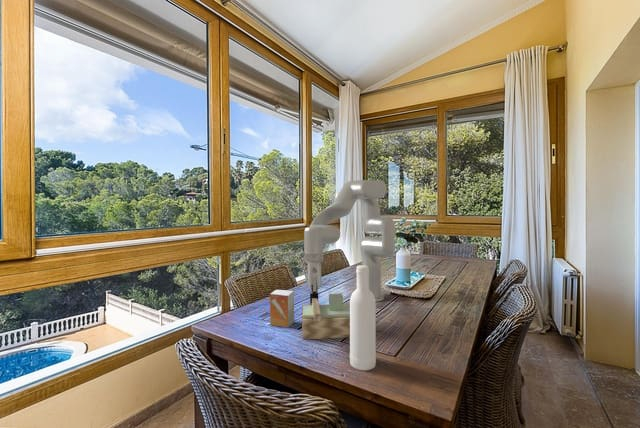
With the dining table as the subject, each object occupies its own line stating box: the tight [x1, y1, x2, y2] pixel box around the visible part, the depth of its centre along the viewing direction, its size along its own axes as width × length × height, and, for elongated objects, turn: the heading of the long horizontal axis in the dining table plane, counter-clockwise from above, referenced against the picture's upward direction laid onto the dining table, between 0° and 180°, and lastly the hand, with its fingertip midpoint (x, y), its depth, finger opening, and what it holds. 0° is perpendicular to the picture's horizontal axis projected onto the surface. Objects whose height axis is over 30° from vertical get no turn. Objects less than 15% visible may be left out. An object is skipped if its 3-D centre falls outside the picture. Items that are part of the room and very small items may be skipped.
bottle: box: [349, 264, 377, 371], centre depth 88 cm, size 8×8×30 cm
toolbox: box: [301, 301, 350, 340], centre depth 112 cm, size 20×15×8 cm
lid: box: [301, 293, 350, 319], centre depth 112 cm, size 20×10×7 cm, turn 95°
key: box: [312, 298, 320, 323], centre depth 107 cm, size 2×16×3 cm, turn 4°
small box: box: [269, 289, 295, 329], centre depth 119 cm, size 8×6×13 cm
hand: (314, 302), depth 117 cm, fingers closed
